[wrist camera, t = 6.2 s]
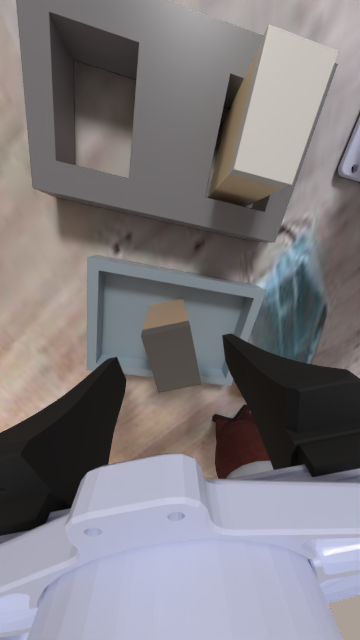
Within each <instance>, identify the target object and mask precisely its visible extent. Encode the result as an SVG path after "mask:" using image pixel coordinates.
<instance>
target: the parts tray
mask: <svg viewBox="0 0 360 640" xmlns="http://www.w3.org/2000/svg"><path fill="white" fill-rule="evenodd" d="M265 293H266V290H264V289H262V288H260V287H258V286H256V285H252V284H246V283H241V282H236V281H230V280H225V279H220V278H215V277H209V276H204V275H199V274H193V273H188V272H183V271H178V270H172V269H167V268H162V267H156V266H151V265H146V264H141V263H135V262H130V261H125V260H120V259H114V258H109V257H104V256H98V255H96V256H90V257H87V370H92V371H94V370H95V369H96V368H97V367H98V366H99V365H101V364H102V363H103V362H104V361H105V360H107V359H108V358H113V357H117V358H118V361H119V363H120V366H121V368H122V371H123V373H124V374H128V375H137V376H146V377H154V376H153V373H152V370H151V367H150V363H149V360H148V357H147V354H146V351H145V348H144V345H143V341H142V338H141V333H142V330H143V326H144V323H145V319H146V316H147V312H148V309H149V305H151V304H156V303H160V302H165V301H170V300H175V299H180V298H183V301H184V305H185V308H186V312H187V316H188V320H189V323H190V327H191V333H192V338H193V343H194V348H195V353H196V358H197V364H198V369H199V374H200V379H201V383H208V384H217V385H226V386H231V385H232V382H233V377H232V376H231V374H230V372H229V369H228V366H227V364H226V361H225V355H224V346H223V338H222V335H225V334H230V333H232V334H233V335H235V336H237V337H239V338H241V339H242V340H244V341H246V342H248V339H249V336H250V333H251V331H252V328H253V325H254V323H255V320H256V317H257V315H258V312H259V309H260V307H261V304H262V301H263V298H264V296H265Z"/></svg>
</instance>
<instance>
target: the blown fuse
mask: <svg viewBox="0 0 360 640" xmlns="http://www.w3.org/2000/svg"><path fill="white" fill-rule="evenodd" d="M141 338H142V341H143V345H144V348H145V351H146V354H147V357H148V360H149V363H150V367H151V370H152V373H153V376H154V379H155V382H156V385H157V389H158V392H164V391H169V390H174V389H179V388H184V387H189V386H194V385H199V384H201V379H200V374H199V369H198V364H197V358H196V353H195V348H194V343H193V338H192V333H191V327H190V323H189V320H188V316H187V312H186V308H185V305H184V301H183V298H180V299H175V300H170V301H165V302H160V303H156V304H151V305H149V309H148V312H147V316H146V319H145V323H144V326H143V330H142V333H141Z"/></svg>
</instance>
